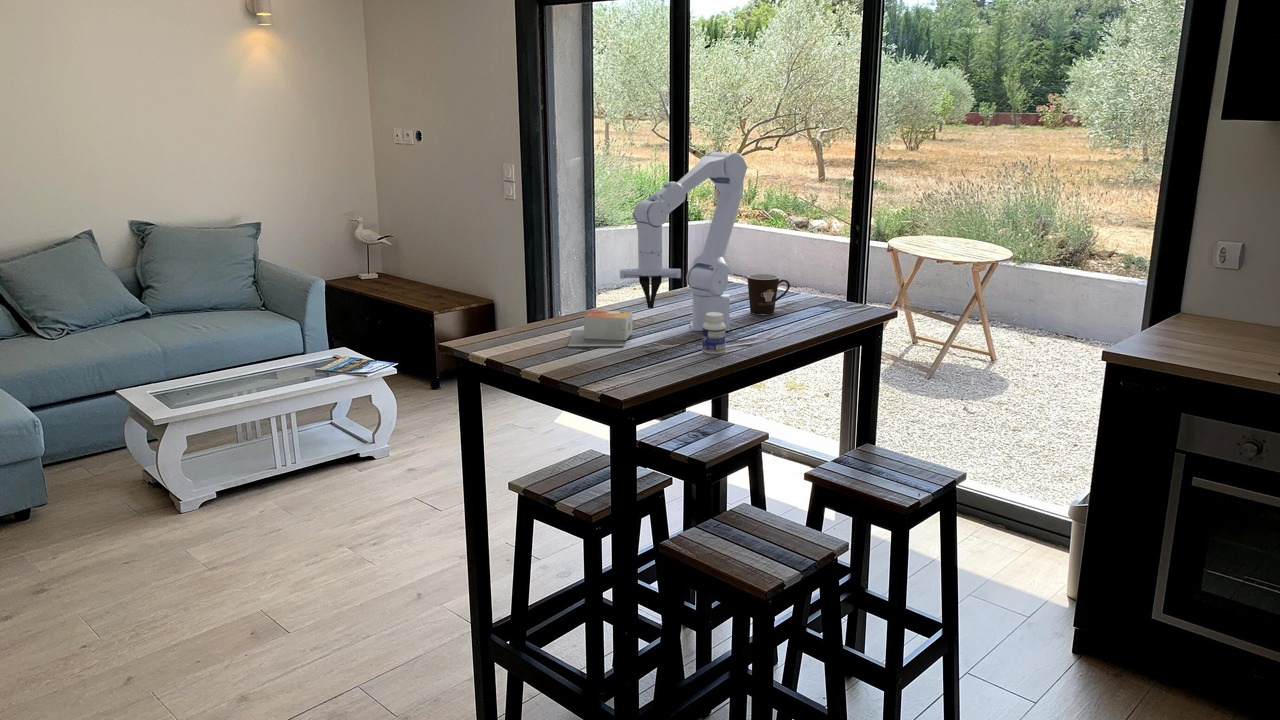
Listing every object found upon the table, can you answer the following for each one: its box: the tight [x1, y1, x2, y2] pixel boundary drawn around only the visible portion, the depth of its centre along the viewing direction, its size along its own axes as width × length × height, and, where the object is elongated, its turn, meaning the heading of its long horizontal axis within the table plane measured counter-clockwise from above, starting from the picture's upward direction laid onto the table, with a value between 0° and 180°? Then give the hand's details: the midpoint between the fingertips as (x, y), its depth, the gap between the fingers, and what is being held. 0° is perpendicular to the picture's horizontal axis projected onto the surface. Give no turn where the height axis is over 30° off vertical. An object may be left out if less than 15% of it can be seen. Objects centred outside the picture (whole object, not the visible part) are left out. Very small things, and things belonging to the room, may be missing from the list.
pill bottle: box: [702, 312, 727, 355], centre depth 213 cm, size 5×5×9 cm
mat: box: [567, 329, 625, 349], centre depth 225 cm, size 13×16×1 cm
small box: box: [583, 309, 633, 341], centre depth 226 cm, size 8×6×10 cm
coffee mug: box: [746, 273, 791, 315], centre depth 251 cm, size 12×9×10 cm
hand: (650, 307), depth 223 cm, fingers closed
